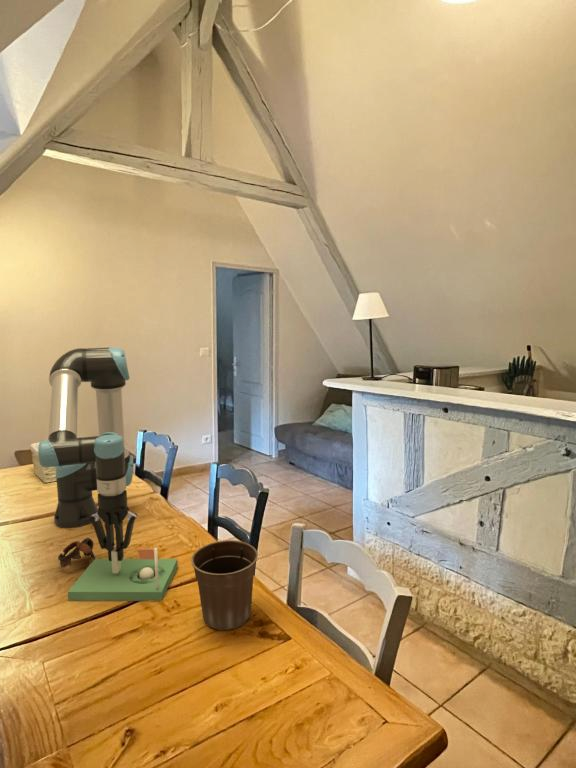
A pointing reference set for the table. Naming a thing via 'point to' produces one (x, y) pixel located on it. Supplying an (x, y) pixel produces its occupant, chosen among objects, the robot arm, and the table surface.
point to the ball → (146, 573)
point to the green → (122, 581)
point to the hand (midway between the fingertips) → (116, 570)
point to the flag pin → (151, 555)
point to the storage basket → (42, 472)
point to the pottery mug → (77, 552)
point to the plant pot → (225, 582)
